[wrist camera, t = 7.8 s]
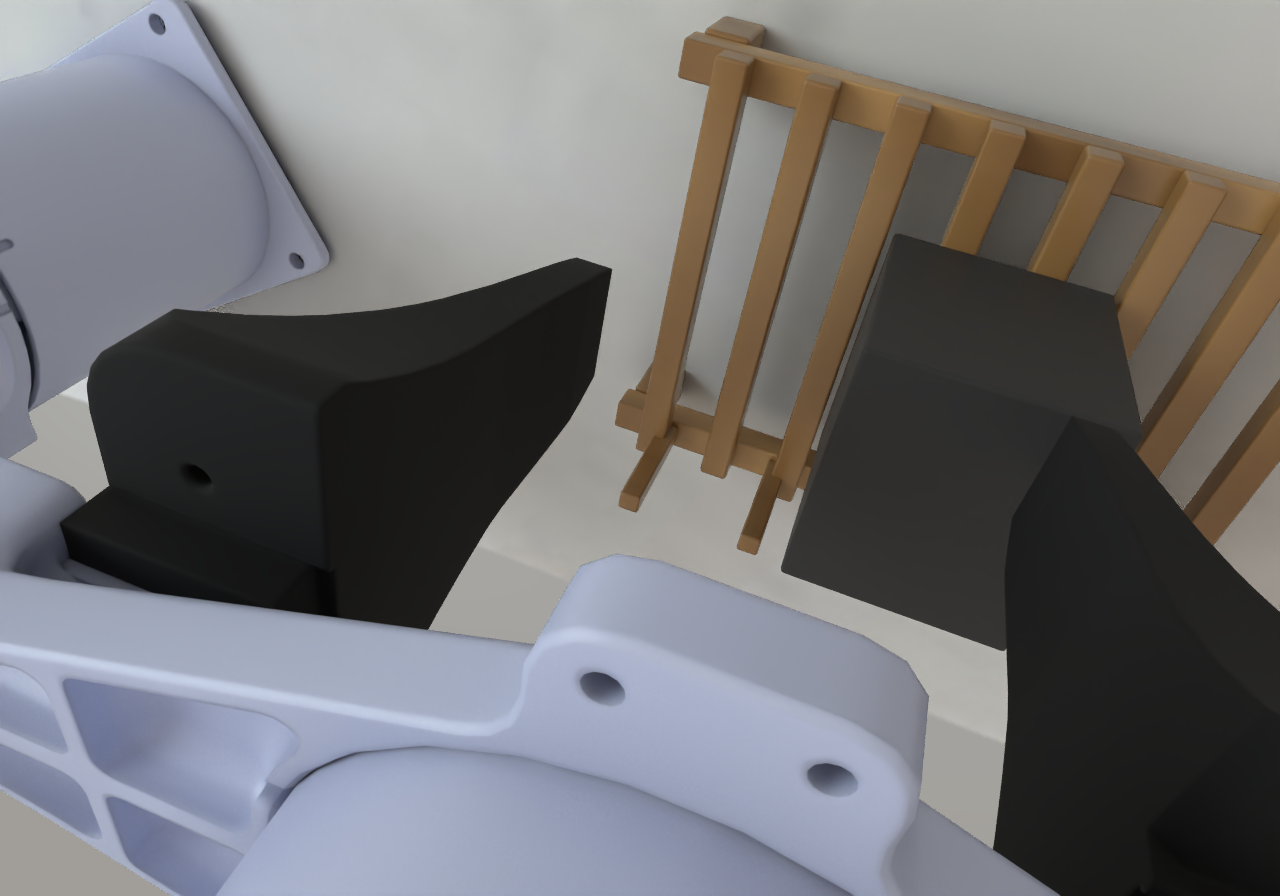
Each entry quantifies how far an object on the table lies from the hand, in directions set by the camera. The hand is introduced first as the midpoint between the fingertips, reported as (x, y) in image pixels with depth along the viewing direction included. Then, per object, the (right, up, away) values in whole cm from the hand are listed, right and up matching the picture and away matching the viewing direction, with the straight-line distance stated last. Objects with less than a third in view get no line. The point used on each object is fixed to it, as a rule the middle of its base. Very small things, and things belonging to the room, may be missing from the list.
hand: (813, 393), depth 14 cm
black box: (+4, +1, +6) cm, 7 cm away
